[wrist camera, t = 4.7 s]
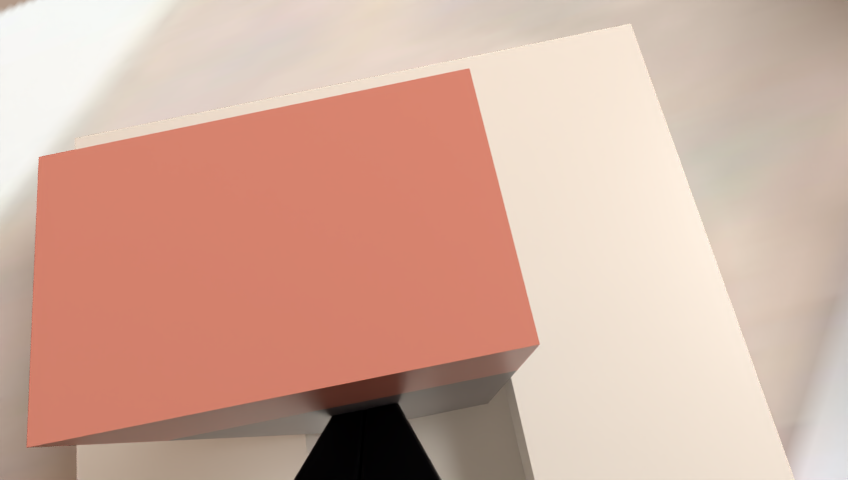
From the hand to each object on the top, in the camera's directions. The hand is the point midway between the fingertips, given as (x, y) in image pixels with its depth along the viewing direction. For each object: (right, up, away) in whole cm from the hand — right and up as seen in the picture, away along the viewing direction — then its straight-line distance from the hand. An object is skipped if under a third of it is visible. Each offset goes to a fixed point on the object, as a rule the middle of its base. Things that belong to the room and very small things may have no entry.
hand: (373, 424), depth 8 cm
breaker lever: (0, -1, +6) cm, 6 cm away
